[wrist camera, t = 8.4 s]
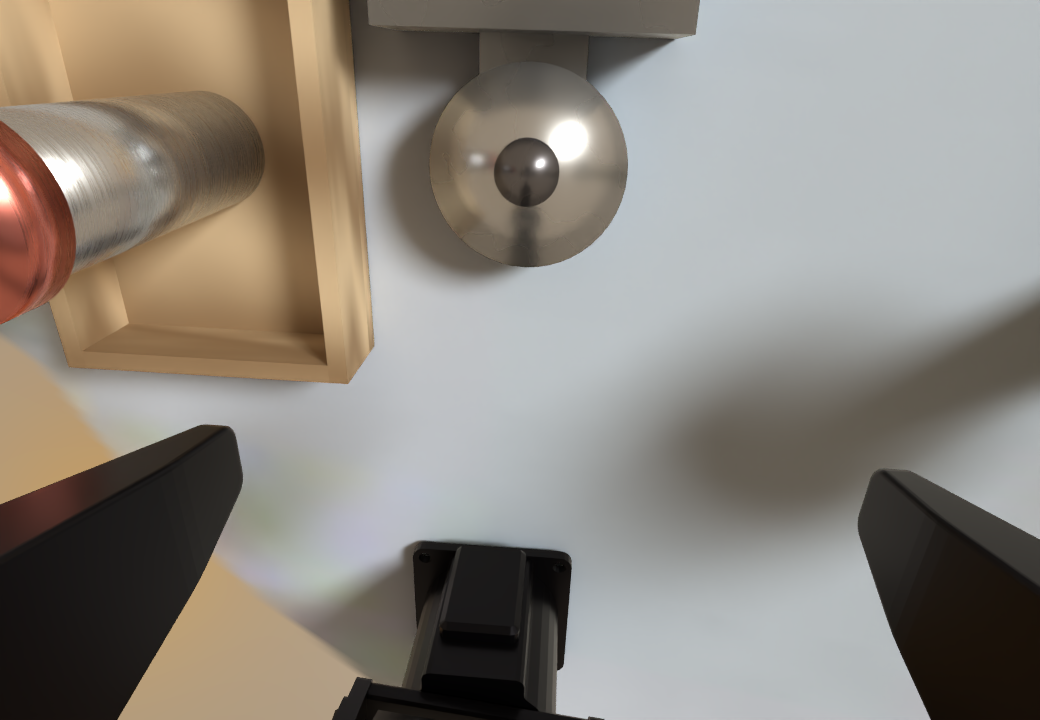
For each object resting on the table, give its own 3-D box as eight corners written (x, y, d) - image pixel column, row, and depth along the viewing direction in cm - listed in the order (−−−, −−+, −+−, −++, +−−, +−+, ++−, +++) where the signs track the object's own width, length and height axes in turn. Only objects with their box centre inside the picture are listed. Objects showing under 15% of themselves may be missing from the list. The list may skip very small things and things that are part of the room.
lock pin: (282, 217, 20) (55, 342, 11) (162, 211, 21) (-154, 329, 12) (264, 82, 19) (-19, 103, 10) (133, 77, 19) (-263, 93, 10)
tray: (374, 345, 23) (347, 383, 20) (127, 331, 23) (68, 367, 21) (341, -101, 17) (298, -131, 15) (16, -107, 18) (-84, -137, 15)
